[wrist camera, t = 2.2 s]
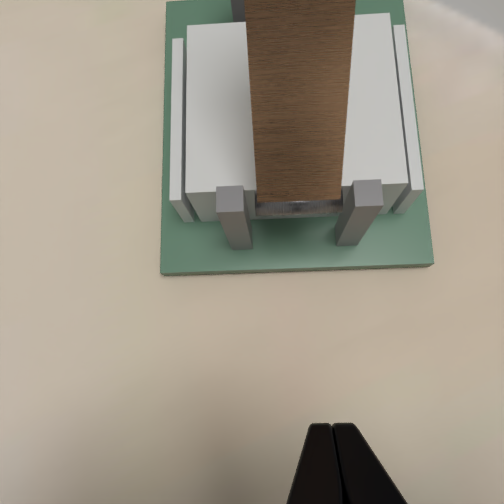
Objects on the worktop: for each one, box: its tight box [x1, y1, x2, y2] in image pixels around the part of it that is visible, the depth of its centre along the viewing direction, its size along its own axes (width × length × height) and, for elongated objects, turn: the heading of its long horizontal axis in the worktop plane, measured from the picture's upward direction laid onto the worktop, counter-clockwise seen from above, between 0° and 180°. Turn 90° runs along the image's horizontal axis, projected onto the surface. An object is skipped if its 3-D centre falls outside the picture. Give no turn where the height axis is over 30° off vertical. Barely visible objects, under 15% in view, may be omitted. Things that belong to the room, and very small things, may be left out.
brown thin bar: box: [244, 0, 356, 217], centre depth 14 cm, size 1×3×12 cm
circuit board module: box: [160, 0, 434, 276], centre depth 21 cm, size 16×13×7 cm
